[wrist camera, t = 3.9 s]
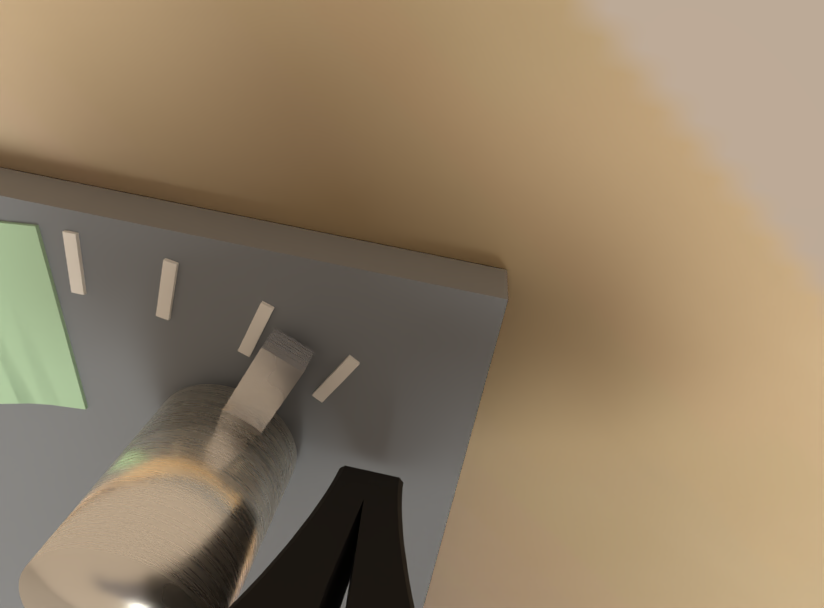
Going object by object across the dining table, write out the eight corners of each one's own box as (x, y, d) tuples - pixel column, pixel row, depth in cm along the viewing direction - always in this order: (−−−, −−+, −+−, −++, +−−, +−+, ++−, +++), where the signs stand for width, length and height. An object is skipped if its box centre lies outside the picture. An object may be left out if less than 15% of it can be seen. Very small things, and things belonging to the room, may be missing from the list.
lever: (148, 658, 19) (55, 831, 15) (50, 610, 19) (-74, 777, 15) (364, 382, 13) (301, 559, 8) (222, 295, 12) (82, 441, 8)
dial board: (398, 676, 21) (391, 723, 20) (-81, 563, 22) (-120, 602, 20) (506, 270, 13) (508, 301, 11) (-262, 114, 14) (-349, 125, 12)
